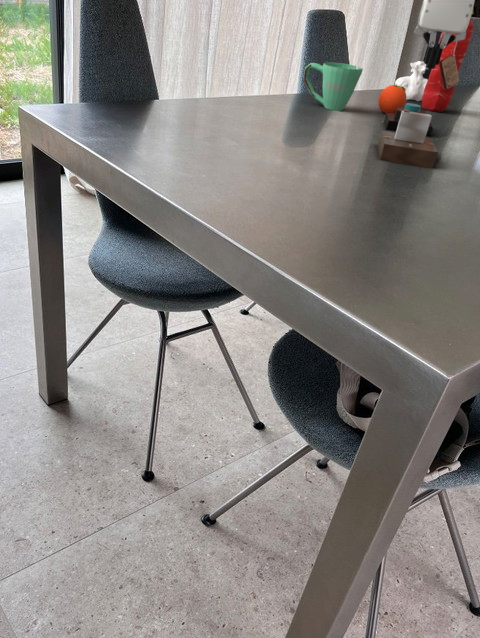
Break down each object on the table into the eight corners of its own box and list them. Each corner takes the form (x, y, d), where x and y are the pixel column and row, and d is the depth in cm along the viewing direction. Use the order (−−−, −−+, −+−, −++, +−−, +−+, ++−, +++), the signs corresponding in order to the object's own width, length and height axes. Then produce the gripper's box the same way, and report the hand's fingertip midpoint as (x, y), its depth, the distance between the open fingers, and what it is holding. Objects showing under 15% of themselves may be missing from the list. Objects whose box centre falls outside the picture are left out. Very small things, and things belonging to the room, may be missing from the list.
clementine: (390, 110, 153) (397, 81, 149) (409, 116, 149) (418, 87, 145) (369, 111, 150) (377, 81, 145) (389, 117, 145) (397, 87, 141)
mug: (357, 110, 149) (367, 67, 143) (346, 115, 142) (356, 70, 136) (305, 99, 154) (312, 58, 148) (292, 104, 147) (300, 60, 141)
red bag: (449, 117, 154) (485, 9, 140) (419, 112, 156) (451, 4, 141) (446, 109, 164) (480, 7, 149) (418, 105, 165) (448, 3, 151)
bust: (428, 109, 174) (434, 74, 174) (436, 96, 166) (443, 59, 167) (388, 104, 175) (395, 68, 175) (395, 90, 168) (402, 54, 168)
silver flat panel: (422, 141, 112) (431, 113, 109) (423, 143, 110) (432, 114, 107) (394, 137, 112) (402, 109, 109) (394, 139, 111) (403, 110, 108)
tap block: (426, 153, 117) (431, 137, 115) (432, 168, 108) (438, 151, 106) (377, 145, 119) (382, 129, 117) (379, 160, 109) (384, 143, 107)
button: (417, 112, 134) (420, 104, 133) (419, 115, 131) (421, 107, 130) (402, 110, 135) (404, 102, 134) (403, 113, 132) (406, 105, 131)
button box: (425, 128, 139) (430, 110, 136) (429, 137, 131) (435, 118, 128) (384, 121, 140) (388, 104, 138) (385, 130, 132) (391, 112, 130)
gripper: (492, -29, 118) (461, 70, 129) (419, -36, 120) (395, 62, 130) (500, -29, 112) (467, 74, 123) (423, -37, 114) (397, 65, 124)
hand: (429, 67), depth 126 cm, fingers closed
